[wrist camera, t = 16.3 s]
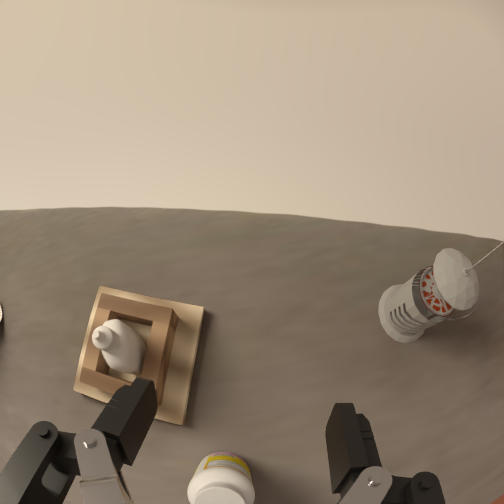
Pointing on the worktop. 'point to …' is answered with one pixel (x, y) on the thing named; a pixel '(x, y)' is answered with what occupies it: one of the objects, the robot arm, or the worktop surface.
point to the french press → (430, 296)
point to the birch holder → (157, 354)
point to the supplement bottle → (221, 481)
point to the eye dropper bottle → (120, 346)
